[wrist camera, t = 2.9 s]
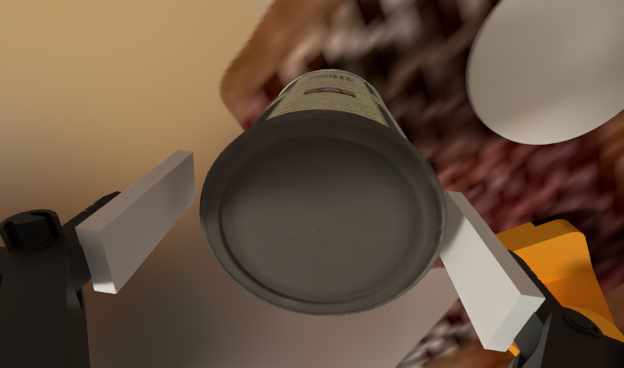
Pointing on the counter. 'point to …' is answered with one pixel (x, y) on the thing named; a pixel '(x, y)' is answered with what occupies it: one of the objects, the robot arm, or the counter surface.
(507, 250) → the robot arm
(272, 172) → the coffee can
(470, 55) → the plate
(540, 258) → the bracket
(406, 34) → the counter surface
